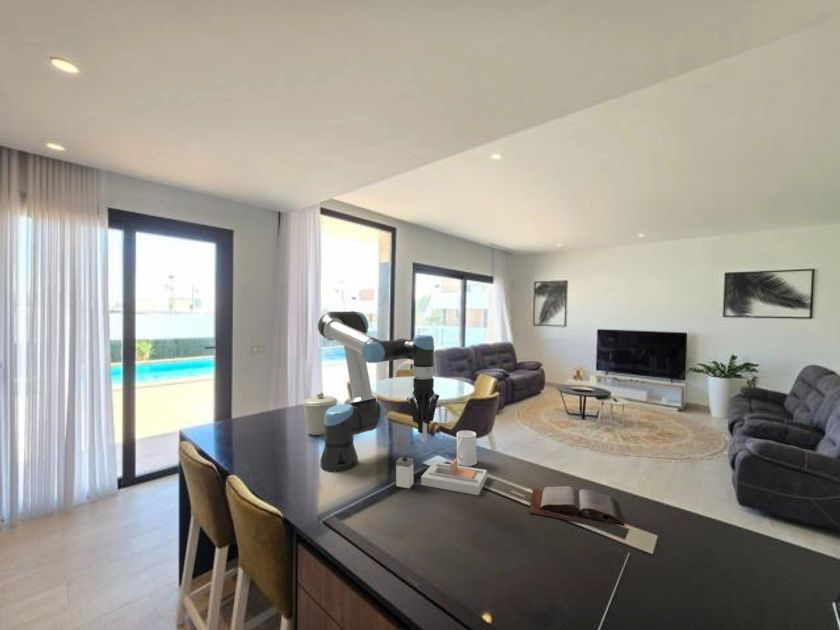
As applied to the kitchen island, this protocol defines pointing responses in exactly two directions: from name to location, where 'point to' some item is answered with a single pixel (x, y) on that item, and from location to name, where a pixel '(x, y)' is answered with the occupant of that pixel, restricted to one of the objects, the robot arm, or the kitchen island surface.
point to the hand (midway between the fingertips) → (423, 440)
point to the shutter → (460, 471)
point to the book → (575, 505)
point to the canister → (317, 412)
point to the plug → (404, 472)
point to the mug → (466, 448)
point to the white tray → (453, 479)
